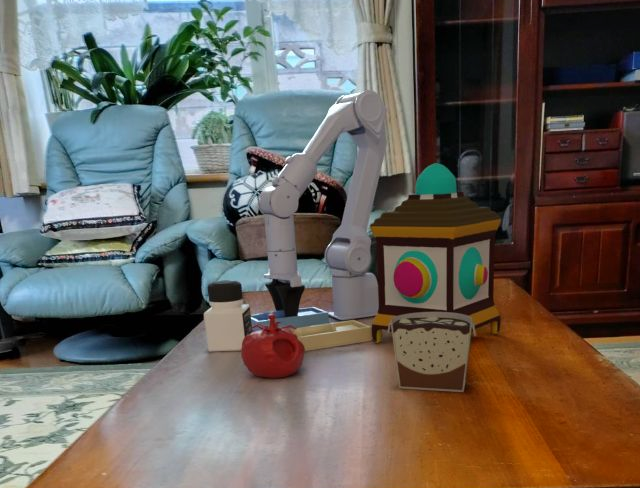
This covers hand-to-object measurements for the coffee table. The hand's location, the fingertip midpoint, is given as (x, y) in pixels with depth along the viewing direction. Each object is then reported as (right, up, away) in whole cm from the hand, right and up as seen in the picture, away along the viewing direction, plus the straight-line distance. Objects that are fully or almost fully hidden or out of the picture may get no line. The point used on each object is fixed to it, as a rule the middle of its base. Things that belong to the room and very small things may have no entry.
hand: (287, 318), depth 140 cm
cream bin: (+9, -7, -14) cm, 18 cm away
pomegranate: (+2, -14, -32) cm, 35 cm away
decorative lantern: (+29, -7, -15) cm, 33 cm away
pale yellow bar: (+9, -7, -14) cm, 18 cm away
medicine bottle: (-9, -8, -14) cm, 18 cm away
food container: (+26, -17, -41) cm, 52 cm away
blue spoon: (0, -1, 0) cm, 1 cm away
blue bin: (0, -2, +1) cm, 2 cm away
